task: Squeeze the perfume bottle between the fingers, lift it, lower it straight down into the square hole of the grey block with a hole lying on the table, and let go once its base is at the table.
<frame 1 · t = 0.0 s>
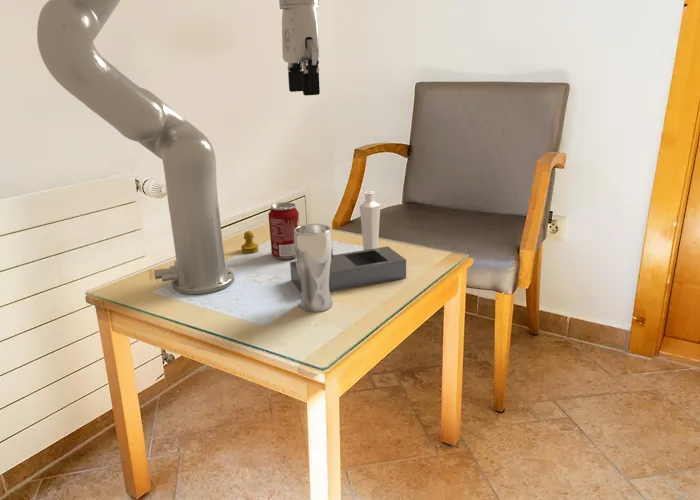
hand: (304, 93, 119), 37 cm above the table, tool pointing down, fingers open, 9 cm apart
grey block with hole: (348, 279, 123), on the table
chess piece: (250, 252, 141), on the table
beer glass: (316, 306, 111), on the table
perfume bottle: (369, 257, 135), on the table
soda can: (286, 256, 137), on the table
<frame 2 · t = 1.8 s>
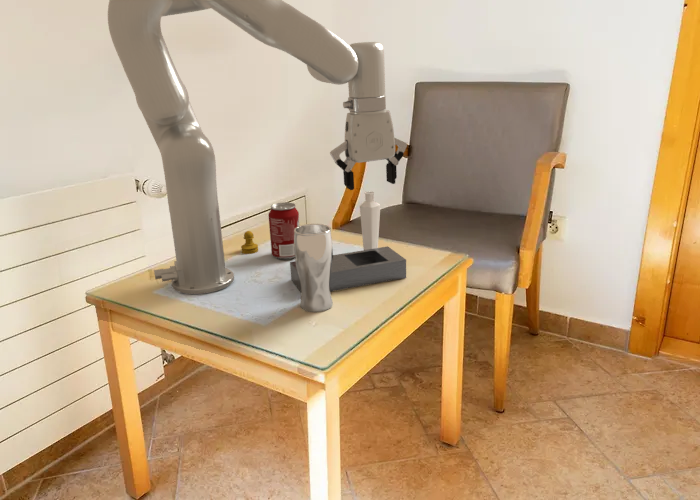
hand: (370, 185, 129), 16 cm above the table, tool pointing down, fingers open, 9 cm apart
nothing on the table moved.
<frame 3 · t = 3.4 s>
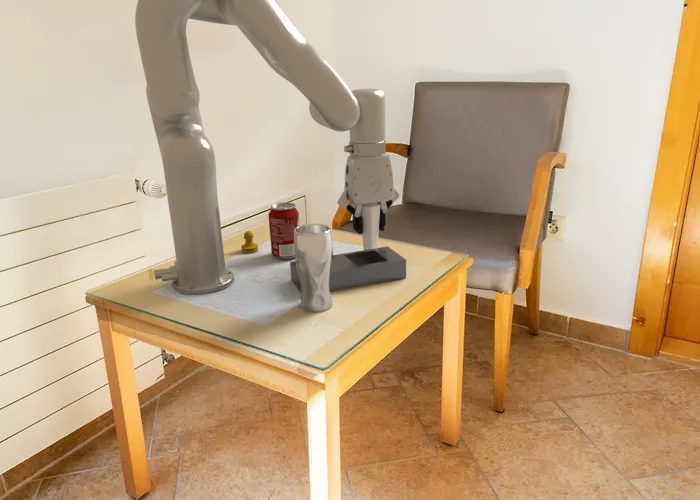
hand: (369, 230, 132), 6 cm above the table, tool pointing down, fingers closed on perfume bottle, 4 cm apart
perfume bottle: (369, 257, 135), on the table, touching gripper
everything else where it was.
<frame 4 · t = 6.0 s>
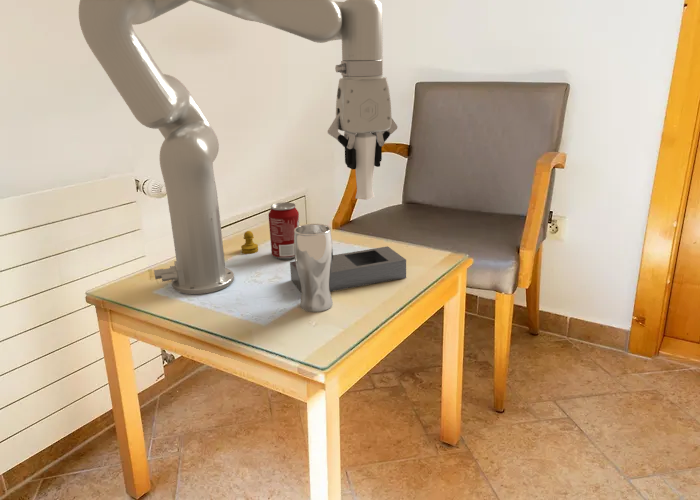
hand: (363, 165, 117), 23 cm above the table, tool pointing down, fingers closed on perfume bottle, 4 cm apart
perfume bottle: (363, 198, 120), point 16 cm above the table, touching gripper
everything else where it was.
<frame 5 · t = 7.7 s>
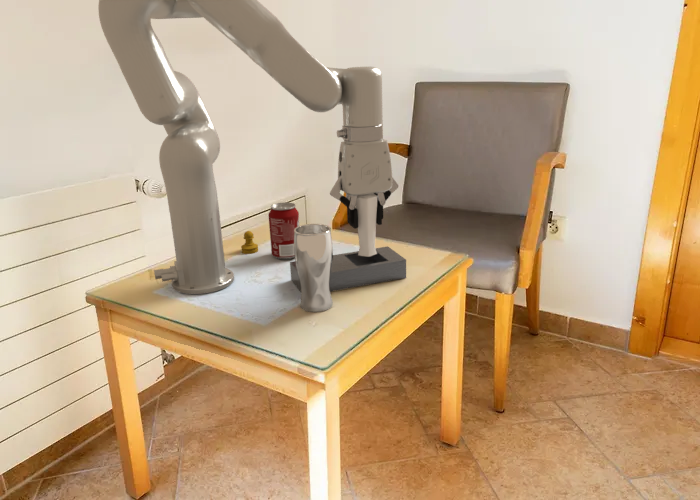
hand: (365, 223, 120), 11 cm above the table, tool pointing down, fingers closed on perfume bottle, 4 cm apart
perfume bottle: (366, 254, 122), point 5 cm above the table, touching gripper
everything else where it was.
when the fingers open (7 cm above the table, at t = 8.9 s): perfume bottle stays where it is, resting in grey block with hole.
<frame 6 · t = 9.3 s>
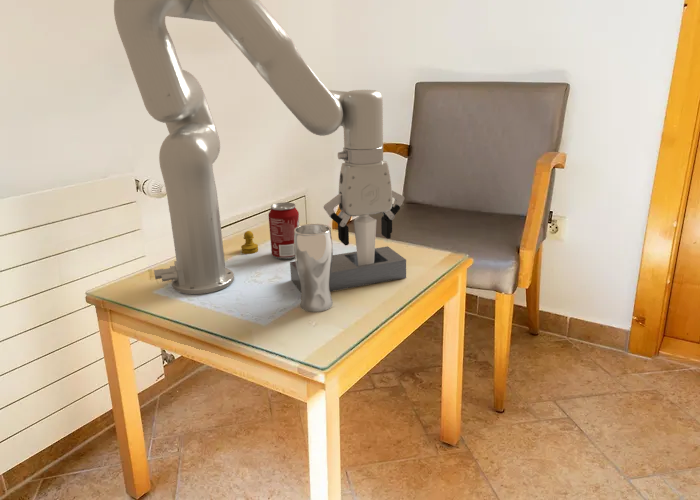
hand: (365, 239, 121), 8 cm above the table, tool pointing down, fingers open, 8 cm apart
perfume bottle: (365, 277, 124), resting in grey block with hole
everything else where it was.
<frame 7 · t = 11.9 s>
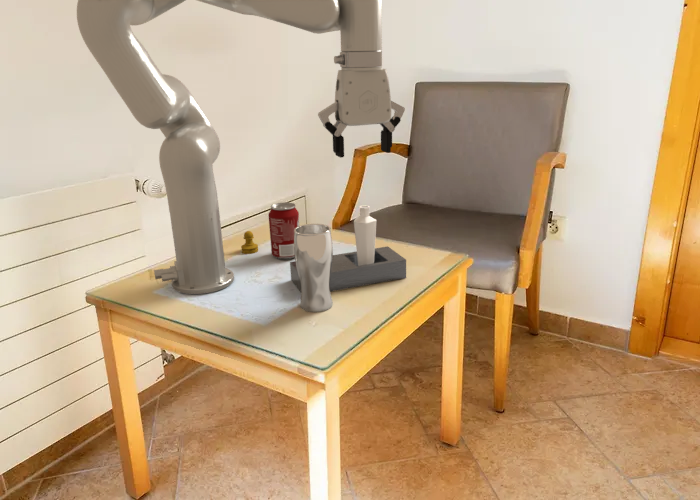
hand: (363, 154, 115), 26 cm above the table, tool pointing down, fingers open, 9 cm apart
nothing on the table moved.
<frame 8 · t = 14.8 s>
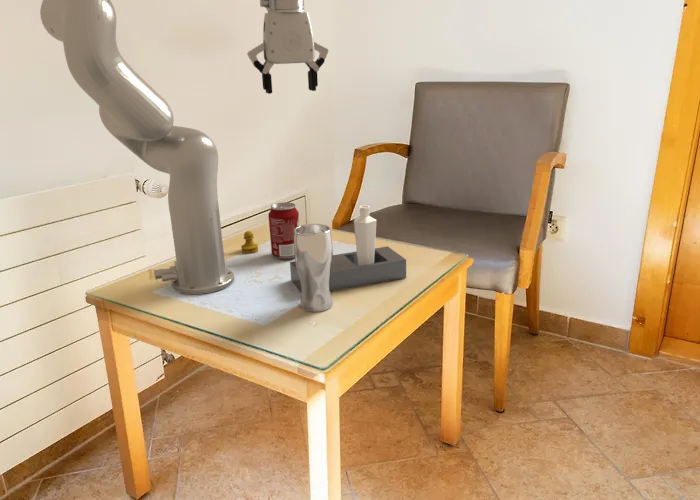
hand: (290, 91, 128), 36 cm above the table, tool pointing down, fingers open, 9 cm apart
nothing on the table moved.
at the end: perfume bottle 0.3 cm from the target spot on the grey block with hole, point 0.0 cm above the grey block with hole's base; perfume bottle tilted 0°; the gripper is holding nothing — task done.
